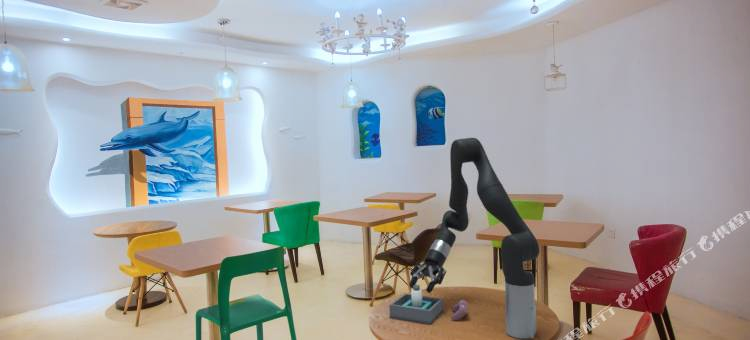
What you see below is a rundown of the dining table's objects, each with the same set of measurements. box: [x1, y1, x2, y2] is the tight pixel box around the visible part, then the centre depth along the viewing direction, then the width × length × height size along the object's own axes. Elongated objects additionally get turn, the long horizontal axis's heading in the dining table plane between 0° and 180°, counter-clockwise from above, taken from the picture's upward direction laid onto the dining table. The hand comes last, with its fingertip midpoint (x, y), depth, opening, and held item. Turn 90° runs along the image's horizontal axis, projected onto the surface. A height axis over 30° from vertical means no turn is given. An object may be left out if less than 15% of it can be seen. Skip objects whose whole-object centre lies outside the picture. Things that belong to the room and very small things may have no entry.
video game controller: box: [451, 299, 468, 322], centre depth 164 cm, size 10×5×7 cm, turn 170°
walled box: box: [388, 293, 445, 326], centre depth 167 cm, size 16×14×5 cm
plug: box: [410, 284, 423, 308], centre depth 167 cm, size 4×4×10 cm
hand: (419, 289), depth 167 cm, fingers open, 8 cm apart
